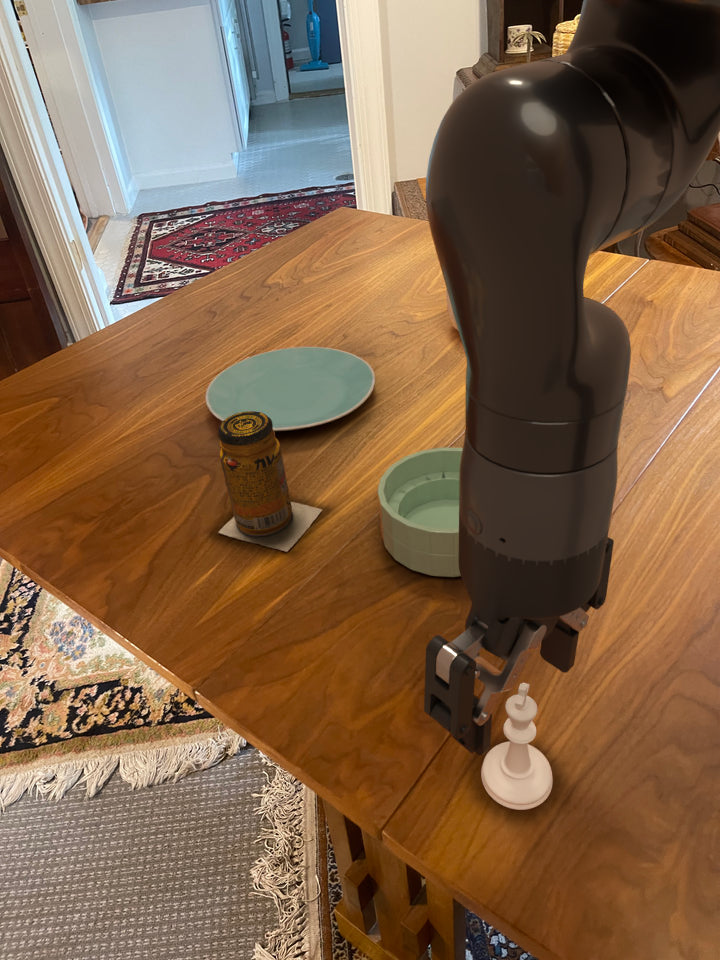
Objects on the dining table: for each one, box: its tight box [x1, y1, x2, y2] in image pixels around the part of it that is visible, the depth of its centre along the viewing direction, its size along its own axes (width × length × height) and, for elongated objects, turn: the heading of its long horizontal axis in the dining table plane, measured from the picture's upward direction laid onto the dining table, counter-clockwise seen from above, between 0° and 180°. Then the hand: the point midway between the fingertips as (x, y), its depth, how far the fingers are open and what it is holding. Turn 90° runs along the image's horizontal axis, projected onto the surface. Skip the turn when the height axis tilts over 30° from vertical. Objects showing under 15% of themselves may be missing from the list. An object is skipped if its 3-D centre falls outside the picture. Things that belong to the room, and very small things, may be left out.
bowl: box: [376, 446, 463, 578], centre depth 71 cm, size 13×13×6 cm
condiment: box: [217, 411, 323, 553], centre depth 73 cm, size 7×8×12 cm
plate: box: [204, 346, 376, 432], centre depth 96 cm, size 22×22×3 cm
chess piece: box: [480, 682, 554, 811], centre depth 49 cm, size 5×5×10 cm
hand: (516, 701), depth 47 cm, fingers open, 8 cm apart
